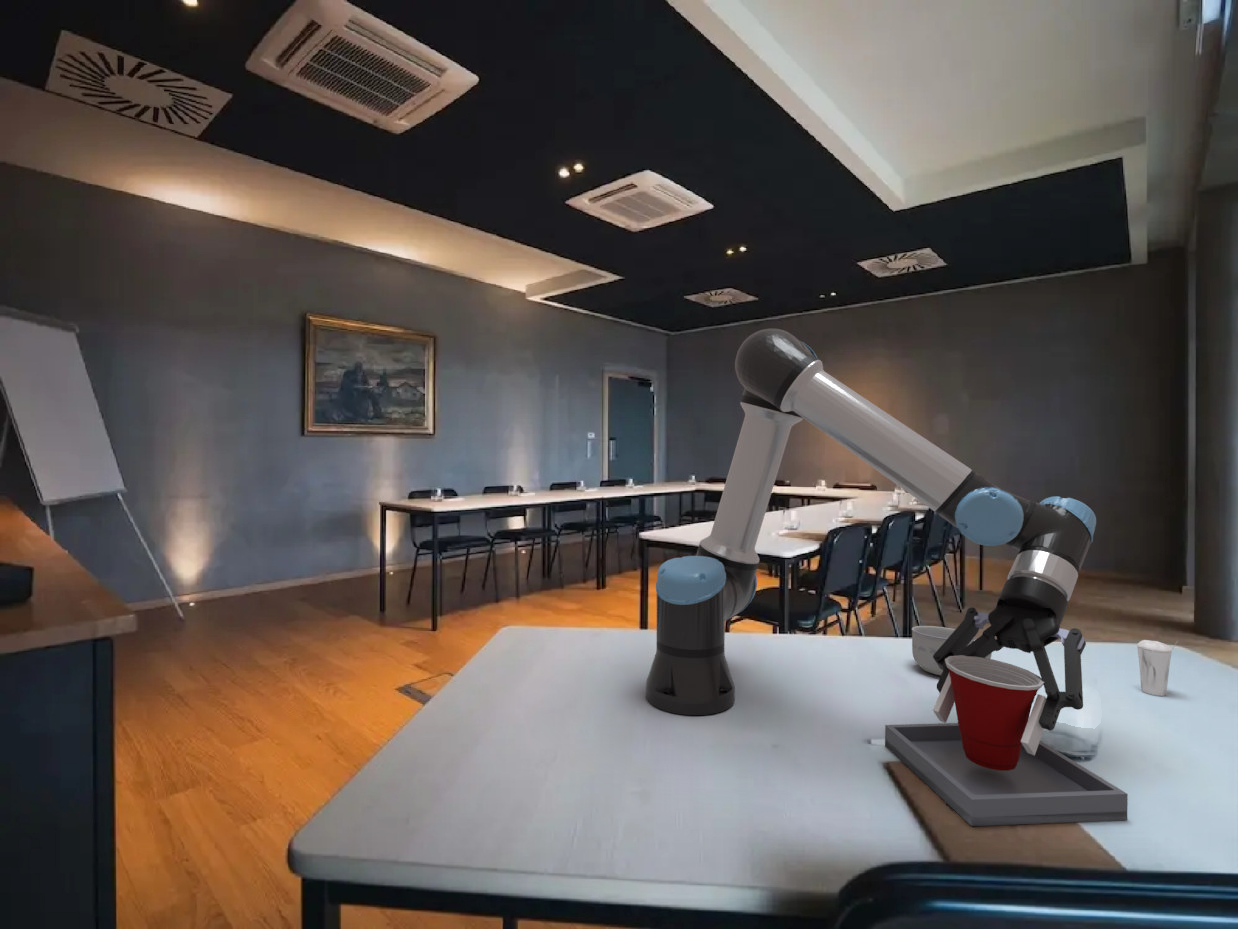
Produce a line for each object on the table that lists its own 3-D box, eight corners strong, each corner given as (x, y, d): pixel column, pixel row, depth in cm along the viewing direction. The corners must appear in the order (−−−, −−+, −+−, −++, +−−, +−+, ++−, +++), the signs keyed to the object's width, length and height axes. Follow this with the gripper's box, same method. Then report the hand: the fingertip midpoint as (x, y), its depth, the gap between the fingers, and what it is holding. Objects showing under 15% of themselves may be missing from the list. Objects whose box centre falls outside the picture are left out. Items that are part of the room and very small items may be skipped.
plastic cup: (1062, 787, 69) (1062, 686, 69) (961, 777, 72) (961, 679, 72) (1019, 744, 80) (1019, 656, 80) (933, 736, 82) (933, 650, 82)
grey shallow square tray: (971, 826, 66) (971, 799, 66) (885, 745, 84) (885, 725, 84) (1127, 820, 67) (1127, 794, 67) (1008, 742, 86) (1008, 721, 86)
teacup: (899, 666, 117) (899, 626, 117) (937, 659, 122) (937, 620, 121) (964, 692, 104) (964, 647, 104) (1004, 683, 109) (1005, 640, 109)
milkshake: (1175, 701, 101) (1176, 643, 101) (1134, 692, 105) (1135, 636, 105) (1179, 694, 104) (1179, 638, 104) (1138, 685, 108) (1139, 631, 108)
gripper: (1145, 626, 75) (1097, 787, 66) (963, 592, 94) (906, 715, 85) (1132, 589, 72) (1080, 753, 63) (946, 562, 91) (886, 686, 82)
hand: (980, 731), depth 74 cm, fingers closed on plastic cup, 10 cm apart
